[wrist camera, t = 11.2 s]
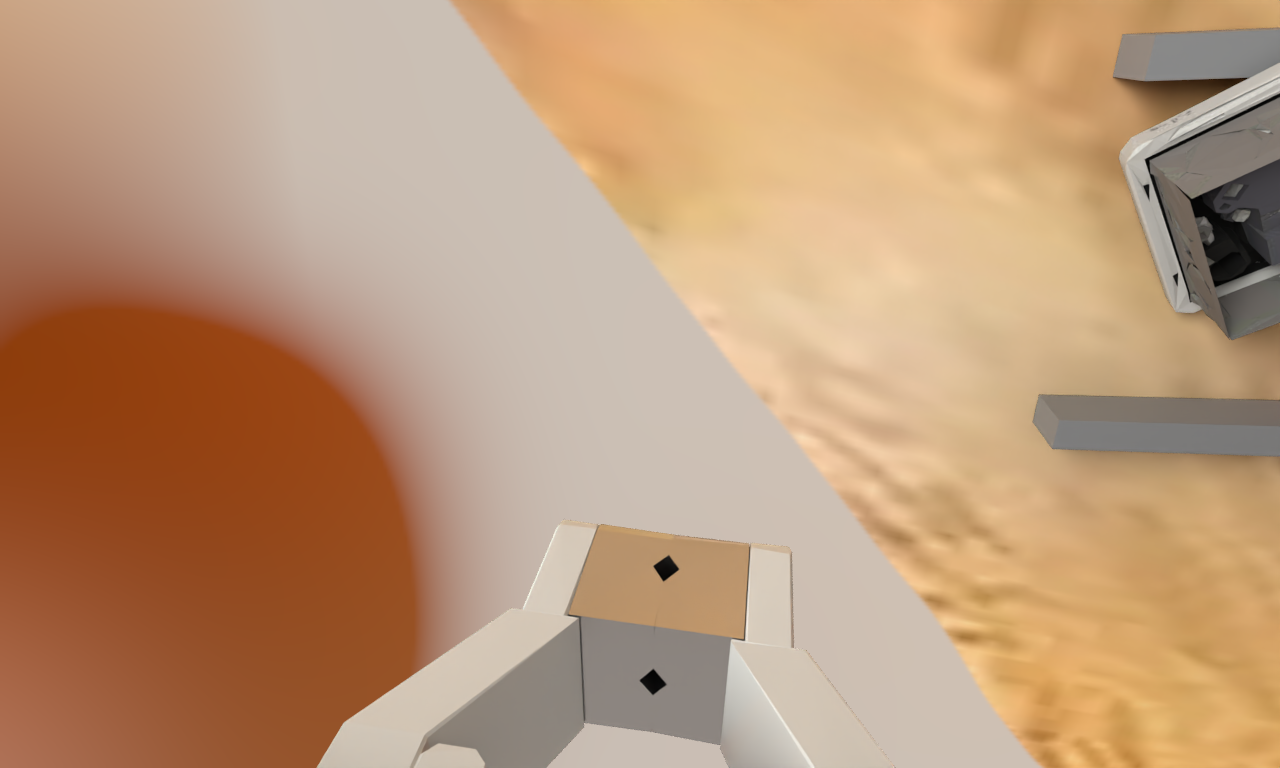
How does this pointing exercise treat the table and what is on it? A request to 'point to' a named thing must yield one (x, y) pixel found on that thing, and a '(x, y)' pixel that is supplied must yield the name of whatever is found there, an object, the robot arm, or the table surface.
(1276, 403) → the frame
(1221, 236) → the electrical switch
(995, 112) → the table surface
